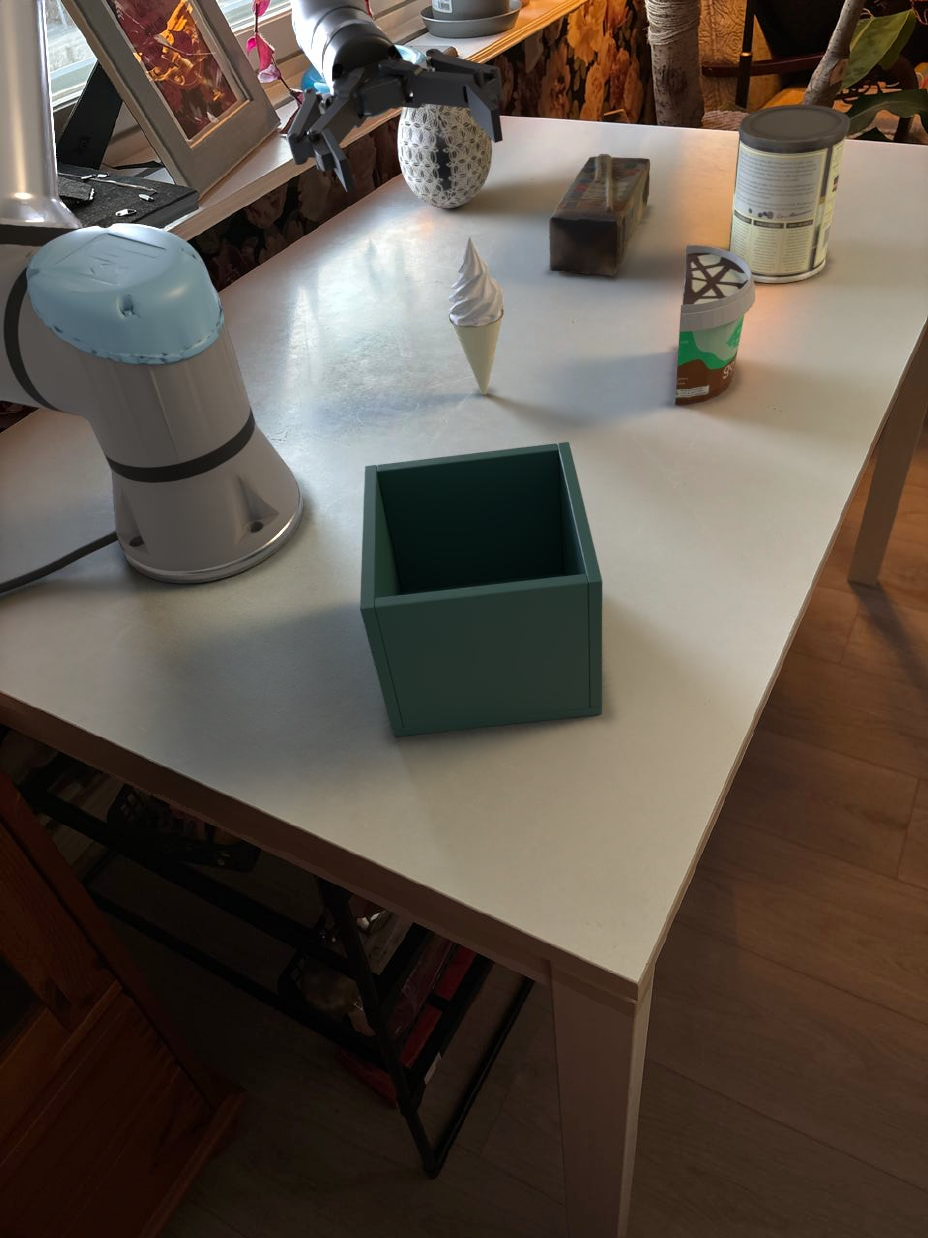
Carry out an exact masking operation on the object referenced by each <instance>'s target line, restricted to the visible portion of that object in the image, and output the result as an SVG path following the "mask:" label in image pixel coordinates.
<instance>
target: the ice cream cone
mask: <svg viewBox="0 0 928 1238" xmlns="http://www.w3.org/2000/svg"><path fill="white" fill-rule="evenodd" d="M456 273H457V274H458V275H459V279H458V280H457V282H455V283H454V284H452V285H451V287H450V289H453V290H455V291H454V292H452V294H451V295H448V297H447V300H448V301H449V302H450V303H454V305H453V306H452V307H451V308H449V310H448V314H447V321H448V322H449V323H450V324H451V327H452V329H453V331H454V333H455V336H456V339H457V341H458V343H459V345H460V348H461V350H462V352H463V354H464V357H465V359H466V362H467V364H468V366H469V368H470V371H471V373H472V375H473V378H474V380H475V382H476V384H477V386H478V389H479V392H480V394H482V395H483V396H484V395H487V393H488V388H489V383H490V379H491V373H492V370H493V364H494V360H495V354H496V348H497V343H498V339H499V333H500V329H501V324H502V319H503V317H504V315H505V309H504V308H505V302H504V291H503V289H502V288H501V286H500V284H499V282H498V281H497V280H495V278H493V277H491V276H490V274H489V266H488V265H487V264H486V263H485V262H484V260H483V259H482V258H481V256H480V255H479V253H478V251H477V249H476V247H475V245H474V243H473V241H472V238H471V237H468V239H467V244H466V247H465V251H464V254H463V257H462V261H461V263H460V266H459V268H458V270H457V272H456Z"/></svg>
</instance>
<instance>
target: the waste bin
mask: <svg viewBox="0 0 928 1238" xmlns="http://www.w3.org/2000/svg"><path fill="white" fill-rule="evenodd" d="M363 479H364V480H363V481H364V482H363V509H362V542H361V543H362V546H361V570H360V571H361V573H360V574H361V575H360V577H361V578H360V603H359V605H360V606H359V610H360V614H361V617H362V622H363V625H364V630H365V633H366V637H367V641H368V644H369V648H370V651H371V656H372V660H373V665H374V667H375V672H376V676H377V679H378V683H379V687H380V691H381V695H382V699H383V703H384V706H385V710H386V714H387V718H388V722H389V725H390V729H391V733H392V736H393V737H394V738H397V737H404V736H406V737H407V736H415V735H424V734H425V735H426V734H434V733H442V732H443V733H444V732H451V731H460V730H469V729H477V728H478V729H479V728H486V727H487V728H488V727H497V726H506V725H514V724H525V723H533V722H540V721H550V720H559V719H560V720H561V719H569V718H576V717H577V718H578V717H588V716H596V715H602V714H603V579H602V573H601V570H600V565H599V560H598V557H597V552H596V548H595V544H594V540H593V537H592V532H591V527H590V524H589V519H588V515H587V512H586V507H585V503H584V499H583V498H584V497H583V494H582V489H581V485H580V482H579V477H578V473H577V469H576V465H575V461H574V457H573V453H572V448H571V443H570V441H565V442H558V443H555V442H554V443H546V444H538V445H531V446H529V445H528V446H521V447H514V448H506V449H495V450H488V451H482V452H481V451H480V452H471V453H464V454H455V455H447V456H440V457H432V458H424V459H423V458H422V459H416V460H415V459H414V460H407V461H397V462H390V463H381V464H372V465H365V466H364V477H363Z"/></svg>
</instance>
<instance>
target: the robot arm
mask: <svg viewBox="0 0 928 1238" xmlns="http://www.w3.org/2000/svg"><path fill="white" fill-rule="evenodd" d="M289 2H290V4H291V9H292V10H291V23H292V28H293V31H294V34H295V36H296V42H297V44H298V46H299V48H300V50H301V51H302V52H303V53H304V55H305V56H306V58H307V59H308V60H309V61H310V62H311V63H312V65H313V67H314V68H315V69H316V71H317V72H318V74H319V75H320V77H321V79H322V80H323V81H324V83H325V85H326V86H327V88H328V89H329V91H328V92H324V93H322V92H321V91H316V89H315V88H314V87H307V88H305V89H303V90H302V92H301V93H302V97H303V101H302V103H301V105H300V107H299V109H298V110H297V113H296V115H295V117H294V119H293V122H292V124H291V126H290V127H289V129H288V131H287V134H286V140H287V143H288V146H289V147H288V148H289V149H290V153H291V157H292V159H293V162H294V164H295V165H296V166H301V165H302V166H303V165H304V164H306V163H307V162H308V161H309V159H310V158H311V159H314V162H315V165H316V168H317V170H319V171H323V172H325V173H326V172H329V171H332V170H333V171H334V172H335V174H336V175H337V177H338V179H339V180H340V182H341V184H342V186H343V188H344V189H345V191H346V192H347V193H349V192H353V191H356V187H355V182H354V178H353V175H352V171H351V167H350V163H349V159H348V156H347V155H346V154H345V152H344V150H343V149H342V147H341V146H340V144H341V143H342V142H343V141H344V140H345V138H346V137H347V136H348V135H349V134H350V132H351V131H352V130H353V129H360V127H361V126H362V125H363V124H364V123H365V122H366V121H367V119H374V118H377V117H380V116H383V115H385V114H386V113H387V112H388V111H390V110H391V109H392V110H398V109H399V108H404V107H407V108H417V109H418V108H420V107H421V106H422V105H423V104H431V105H440V106H450V107H460V108H469V110H470V115H471V116H472V118H473V119H474V120H475V121H476V122H477V123H478V124H479V126H480V127H481V128H482V129H483V130H484V131H485V132H486V134H487V135H488V136H489V137H490V138H491V141H492V142H493V143H494V144H497V143H500V142H502V141H504V139H503V129H502V123H501V116H500V108H499V103H498V102H499V101H500V100H502V99H503V98H504V94H503V93H504V92H503V85H502V77H501V70H500V67H498V66H495V65H490V64H486V63H482V62H478V61H474V60H470V59H465V58H461V57H458V56H457V57H456V56H452V55H448V54H446V53H444V52H442V51H441V50H439V49H438V48H429V49H428V50H426V51H425V60H424V61H421V62H419V63H414V62H412V61H411V60H407V59H404V57H403V55H402V54H401V52H400V50H399V49H398V47H397V46H396V45H395V44H394V43H393V41H392V40H391V39H390V38H389V37H388V36H387V34H386V33H385V32H384V30H383V29H382V28H381V27H380V26H379V25H378V23H377V22H376V21H375V20H374V19H373V17H372V16H371V15H370V14H369V12H368V9H367V4H366V0H289ZM45 12H46V11H45V0H0V401H3V402H9V403H13V404H19V405H25V406H29V407H34V408H38V409H42V410H43V409H44V410H48V411H53V412H58V413H63V414H68V415H73V416H76V417H77V416H78V417H82V418H84V419H85V420H86V421H87V422H88V423H89V425H90V427H91V429H92V432H93V434H94V436H95V438H96V440H97V442H98V445H99V446H100V449H101V451H102V453H103V455H104V457H105V459H106V461H107V463H108V464H107V465H108V466H109V468H110V471H111V481H112V482H111V485H112V496H113V497H112V499H113V502H112V503H113V515H114V516H113V517H114V528H115V530H113V531H111V532H109V533H107V534H105V535H103V536H101V537H99V538H97V539H94V540H92V541H90V542H88V543H86V544H84V545H82V546H80V547H78V548H76V549H74V550H72V551H70V552H69V553H66V554H64V555H63V556H61V557H59V558H57V559H55V560H53V561H51V562H49V563H47V564H45V565H42V566H40V567H38V568H35V569H33V570H31V571H29V572H26V573H23V574H21V575H18V576H15V577H13V578H10V579H7V580H5V581H1V582H0V594H3V593H7V592H9V591H12V590H15V589H17V588H19V587H23V586H25V585H27V584H31V583H32V582H36V581H38V580H40V579H42V578H44V577H45V578H46V577H47V576H49V575H51V574H53V573H55V572H57V571H59V570H62V569H63V568H65V567H67V566H69V565H71V564H73V563H75V562H76V561H77V562H78V561H79V560H80V559H82V558H85V557H87V556H89V555H91V554H92V553H95V552H97V551H98V550H101V549H103V548H105V547H107V546H109V545H111V544H114V543H116V542H118V543H119V546H120V548H121V550H122V552H123V554H124V556H125V558H126V560H127V561H128V563H129V564H130V565H131V566H132V568H134V569H135V570H136V571H138V573H140V574H142V575H143V576H146V577H147V578H150V579H154V580H157V581H160V582H164V583H172V584H197V583H206V582H212V581H216V580H220V579H223V578H224V579H225V578H227V577H230V576H235V575H237V574H239V573H242V572H244V571H246V570H249V569H251V568H252V567H256V565H258V564H260V563H262V562H264V561H265V560H267V559H268V558H269V557H271V556H272V555H274V554H275V553H276V552H278V551H279V550H280V549H281V548H282V547H283V546H284V545H286V544H287V542H288V541H289V540H290V539H291V538H292V536H293V535H294V533H295V532H296V530H297V529H298V527H299V524H300V522H301V519H302V516H303V512H304V511H303V510H304V503H303V502H304V501H303V498H302V494H301V490H300V487H299V484H298V482H297V479H296V477H295V476H294V474H293V471H292V469H291V468H290V466H289V465H288V464H287V462H286V461H285V460H284V459H283V457H282V456H281V455H280V453H279V452H278V451H277V450H276V448H275V447H274V445H273V444H272V443H271V442H270V440H269V439H268V438H267V436H266V435H265V433H263V431H262V429H260V427H259V426H258V425H257V421H256V419H255V415H254V413H253V409H252V406H251V402H250V399H249V396H248V392H247V389H246V385H245V381H244V378H243V376H242V372H241V369H240V364H239V361H238V357H237V354H236V350H235V348H234V344H233V342H232V338H231V337H232V336H231V334H230V330H229V327H228V324H227V320H226V316H225V313H224V307H223V304H222V303H221V298H220V295H219V293H218V291H217V289H216V288H215V286H214V285H213V283H212V280H211V278H210V275H209V271H208V269H207V267H206V264H205V262H204V261H203V258H202V257H201V255H200V254H199V252H198V251H197V250H196V249H195V248H194V247H193V246H192V245H191V244H190V243H189V242H188V241H187V240H185V239H183V238H182V237H180V236H179V235H176V234H174V233H173V232H170V231H168V230H164V229H162V228H158V227H156V226H155V227H154V226H148V225H144V224H135V223H113V224H112V225H111V226H110V227H106V228H104V227H100V226H98V225H95V226H90V227H89V226H88V227H84V228H83V222H81V220H79V218H77V217H76V215H75V214H74V213H73V212H72V211H71V210H70V209H69V208H68V207H67V206H66V205H65V203H63V201H62V199H61V198H60V196H59V182H58V170H57V158H56V157H57V156H56V154H57V153H56V143H55V130H54V116H53V115H54V114H53V106H52V105H53V103H52V91H51V78H50V77H51V76H50V64H49V63H50V62H49V51H48V50H49V49H48V38H47V24H46V13H45ZM411 93H412V94H413V96H410V95H411Z"/></svg>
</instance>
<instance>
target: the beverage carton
mask: <svg viewBox="0 0 928 1238" xmlns="http://www.w3.org/2000/svg"><path fill="white" fill-rule="evenodd" d="M650 171H651V160H650V158H645V157H617V156H611V155H610V154H608V153H601V154H599V155H597V156H590V157H589V158H588V160H587V161H586V162H585V164H584V165H583V167H582V168H581V169H580V171H579V172H578V173H577V175H576V176H575V178H574V179H573V182H572V183H571V184H570V186H569V187H568V189H567V190H566V192H565V193H564V195H563V196H562V198H561V199H560V201H559V202H558V204H557V206H556V208H555V209H554V211H553V212H552V215H550V218H549V220H548V222H549V224H548V225H549V228H548V233H549V234H548V238H549V241H548V242H549V243H548V247H549V271H551V272H561V273H576V274H577V273H578V274H584V275H604V276H610V277H611V276H615V274H617V271H618V269H619V267H620V266H621V264H622V261H623V259H624V257H625V255H626V253H627V251H628V249H629V247H630V244H631V243H632V241H633V238H634V236H635V234H636V232H637V230H638V227H639V226H640V223H641V220H642V218H643V215H644V212H645V210H646V208H647V206H648V202H649V201H648V200H649V196H650V182H651V179H650V178H651V177H650Z"/></svg>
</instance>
